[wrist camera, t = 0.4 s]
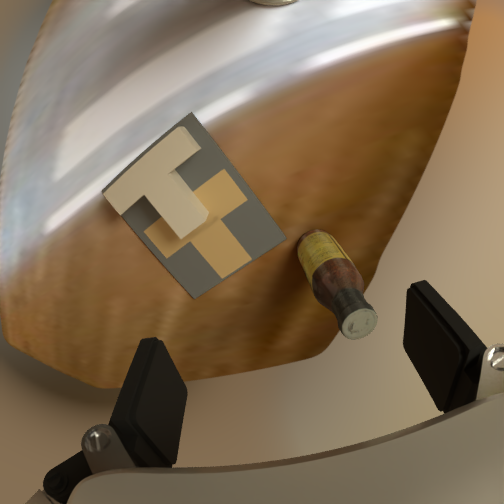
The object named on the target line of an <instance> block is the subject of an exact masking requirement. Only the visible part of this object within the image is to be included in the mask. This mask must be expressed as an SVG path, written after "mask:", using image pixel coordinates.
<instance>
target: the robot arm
mask: <svg viewBox="0 0 504 504" xmlns="http://www.w3.org/2000/svg"><path fill="white" fill-rule="evenodd" d="M249 1H251V2H254V3H257V4H262V5H272V6H277V5H285V4H289V3H293V2H295V1H297V0H249ZM403 346H404V349H405V351H406V353H407V355H408V356H409V358H410V360H411V362H412V363H413V365H414V367H415V369H416V370H417V372H418V374H419V376H420V377H421V379H422V381H423V383H424V385H425V386H426V388H427V390H428V392H429V393H430V395H431V397H432V399H433V401H434V403H435V405H436V407H437V408H438V410H439V411H443V412H444V414H443V415H440V416H438V417H435V418H433V419H430V420H427V421H425V422H422V423H420V424H417V425H414V426H412V427H409V428H406V429H403V430H400V431H397V432H394V433H391V434H388V435H385V436H382V437H379V438H376V439H372V440H369V441H365V442H361V443H358V444H354V445H350V446H346V447H343V448H338V449H334V450H330V451H325V452H321V453H316V454H311V455H306V456H300V457H295V458H289V459H282V460H276V461H268V462H261V463H252V464H242V465H230V466H216V467H188V468H172V464H175V463H176V460H177V454H178V448H179V441H180V435H181V429H182V423H183V416H184V412H185V405H186V400H187V388H186V386H185V384H184V382H183V380H182V378H181V376H180V374H179V372H178V371H177V369H176V367H175V365H174V363H173V361H172V359H171V357H170V355H169V353H168V351H167V349H166V347H165V345H164V343H163V341H162V340H158V339H157V338H156V337H152V338H145V339H142V340H141V341H140V343H139V346H138V348H137V351H136V353H135V356H134V358H133V361H132V363H131V366H130V368H129V371H128V373H127V376H126V378H125V381H124V383H123V386H122V389H121V391H120V394H119V397H118V399H117V402H116V405H115V407H114V410H113V413H112V416H111V418H110V421H109V424H108V425H106V424H99V425H95V426H93V427H91V428H90V429H89V430H87V432H86V433H85V434H84V436H83V438H82V442H81V446H82V451H80V452H78V453H77V454H75V455H74V456H72V457H71V458H69V459H67V460H66V461H64V462H63V463H61V464H59V465H58V466H56V467H54V468H53V469H51V470H50V471H49V472H48V473H47V474H46V476H45V478H44V481H43V487H44V490H43V491H41V490H40V489H39V490H38V491H37V492H36V493H35V494H34V495H33V496H32V497H31V498H30V499H29V500H28V501H27V503H25V504H504V344H495V345H492V346H490V347H488V348H487V347H486V346H485V345H484V344H483V343H482V341H481V340H480V339H479V338H478V336H477V335H476V334H475V333H474V332H473V331H472V329H471V328H470V327H469V326H468V325H467V324H466V322H465V321H464V320H463V319H462V318H461V317H460V316H459V315H458V314H457V312H456V311H455V310H454V309H453V308H452V307H451V306H450V305H449V304H448V303H447V302H446V301H445V300H444V299H443V298H442V297H441V296H440V295H439V293H438V292H437V291H436V290H435V289H434V288H433V287H432V286H431V285H430V284H429V283H428V282H427V281H426V280H423V281H419V282H416V283H412V284H411V286H410V288H409V289H407V296H406V314H405V327H404V338H403Z"/></svg>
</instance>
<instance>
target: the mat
mask: <svg viewBox="0 0 504 504" xmlns="http://www.w3.org/2000/svg"><path fill="white" fill-rule="evenodd" d="M177 127H185V128H186V129H187V131H188V132H189V133H190V134H191V136H192V137H193V138H194V140H195V141H196V142H197V143H198V145H199V146H200V147H201V149H200V150H199V151H197V152H196V153H195V154H194V155H192V156H191V157H190V158H188V159H187V160H186V161H185V162H183V163H182V164H181V165H180V166H178V167H177V168H176V169H175V170H176V171H177V173H178V174H179V175H180V176H181V178H182V179H183V180H184V182H185V183H186V184H187V185H188V187H189V188H190V189H191V190H192V192H193V193H194V194H195V195H196V197H197V198H198V199H199V200H200V202H201V203H202V204H203V205H204V207H205V208H206V209H207V210H208V212H209V214H208V216H207V219H206V221H205V222H204V223H202V224H201V225H200V226H198V227H197V228H196V229H194V230H193V231H191V232H190V233H189V234H187V235H186V236H185V237H183V238H182V239H180V238H179V236H178V235H177V234H176V233H175V232H174V230H173V229H172V228H171V227H170V226H169V224H168V223H167V222H166V221H165V220H164V218H163V217H162V216H161V215H160V214H159V212H158V211H157V210H156V209H155V207H154V206H153V205H152V204H151V203H150V201H149V200H148V199H147V198H146V196H145V195H144V196H142V197H141V198H140V199H139V200H138V201H137V202H136V203H134V204H133V205H132V206H131V207H130V208H129V209H128V210H126V211H125V212H124V213H123V214H121V216H122V217H123V218H124V219H125V221H126V222H127V223H128V224H129V226H130V227H131V228H132V229H133V230H134V231H135V233H136V234H137V235H138V236H139V237H140V239H141V240H142V241H143V242H144V243H145V244H146V246H147V247H148V248H149V249H150V250H151V251H152V253H153V254H154V255H155V256H156V257H157V258H158V259H159V261H160V262H161V263H162V264H163V265H164V266H165V267H166V268H167V270H168V271H169V272H170V273H171V274H172V275H173V276H174V277H175V278H176V280H177V281H178V282H179V283H180V284H181V285H182V286H183V287H184V288H185V289H186V291H187V292H188V293H189V294H190V295H191V296H192V297H193V298H194V299H195V298H197V297H198V296H200V295H202V294H203V293H205V292H206V291H208V290H209V289H211V288H212V287H214V286H215V285H217V284H218V283H220V282H222V281H223V280H225V279H226V278H228V277H229V276H231V275H232V274H234V273H235V272H237V271H238V270H240V269H241V268H243V267H244V266H246V265H247V264H249V263H251V262H252V261H254V260H255V259H257V258H258V257H260V256H261V255H263V254H264V253H266V252H267V251H269V250H270V249H272V248H273V247H275V246H276V245H278V244H279V243H281V242H282V241H284V240H286V239H287V238H286V237H285V235H284V234H283V233H282V231H281V230H280V228H279V227H278V226H277V224H276V223H275V221H274V220H273V219H272V217H271V216H270V215H269V213H268V212H267V211H266V209H265V208H264V206H263V205H262V204H261V202H260V201H259V200H258V198H257V197H256V196H255V194H254V193H253V192H252V190H251V189H250V188H249V186H248V185H247V183H246V182H245V181H244V179H243V178H242V177H241V175H240V174H239V173H238V172H237V170H236V169H235V168H234V166H233V165H232V164H231V162H230V161H229V160H228V158H227V157H226V156H225V154H224V153H223V152H222V150H221V149H220V148H219V147H218V145H217V144H216V143H215V141H214V140H213V139H212V137H211V136H210V135H209V134H208V132H207V131H206V130H205V128H204V127H203V126H202V125H201V123H200V122H199V121H198V120H197V118H196V117H195V116H194V114H193V113H192V112H191V113H190V114H188V115H187V116H186V117H185V118H183V119H182V120H181V121H179V122H178V123H177V124H176V125H174V126H173V127H172V128H171V129H170V130H168V131H167V132H166V133H165V134H163V135H162V136H161V137H160V138H159V139H157V140H156V141H155V142H154V143H153V144H152V145H150V146H149V147H148V148H147V149H146V150H145V151H144V152H142V153H141V154H140V155H139V156H138V157H137V158H136V159H135V160H134V161H132V162H131V163H130V164H129V165H128V166H127V167H126V168H125V169H124V170H123V171H122V172H121V173H119V174H118V175H117V176H116V177H115V178H114V179H113V180H112V181H111V182H110V183H109V184H108V185H107V186H106V187H105V188H104V189H103V190H102V192H103V193H104V192H105V191H106V190H107V189H108V188H109V187H110V186H111V185H113V184H114V183H115V182H116V181H117V180H118V179H119V178H120V177H121V176H122V175H123V174H124V173H125V172H126V171H127V170H128V169H130V168H131V167H132V166H133V165H134V164H135V163H136V162H137V161H138V160H139V159H141V158H142V157H143V156H144V155H145V154H146V153H147V152H149V151H150V150H151V149H152V148H153V147H154V146H156V145H157V144H158V143H159V142H160V141H161V140H163V139H164V138H165V137H166V136H167V135H169V134H170V133H171V132H172V131H174V130H175V129H176V128H177Z"/></svg>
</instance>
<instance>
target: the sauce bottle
mask: <svg viewBox="0 0 504 504" xmlns="http://www.w3.org/2000/svg"><path fill="white" fill-rule="evenodd" d="M297 251H298V252H297V253H298V259H299V261H300V263H301V265H302V268H303V270H304V272H305V275H306V277H307V280H308V282H309V284H310V286H311V289H312V291H313V293H314V296H315V297H316V299H317V300H318V302H319V303H320V304H322V305H323V306H325V307H326V308H327V309H329V310H330V311H332V312H333V313H334V314H335V316H336V318H337V320H338V327H339V329H340V331H341V332H342V334H343V335H344V336H345V337H347V338H348V339H353V340H355V339H359V338H363V337H365V336H366V335H368V334H370V333H371V332H372V331H373V330H374V328H375V326H376V324H377V315H376V312H375V311H374V309H373V307H372V306H371V305H370V304H368V303H367V302H366V300H365V299H364V296H363V294H362V293H363V289H364V281H363V279H362V277H361V275H360V273H359V272H358V271H357V269H356V267H355V265H354V264H353V262H352V261H351V260H350V258H349V257H348V256H347V254H346V253H345V252H344V251H343V249H342V248H341V247H340V245H339V244H338V243H337V241H336V240H335V239H334V238H333V237H332V236H331V235H330V234H328V233H327V232H326V231H324V230H311V231H309V232H307V233H305V234H304V235H303V236H302V237H301V239H300V240H299V242H298V245H297Z"/></svg>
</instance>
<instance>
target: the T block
mask: <svg viewBox="0 0 504 504" xmlns="http://www.w3.org/2000/svg"><path fill="white" fill-rule="evenodd" d="M200 149H201V147H200V146H199V145H198V143H197V142H196V141H195V140H194V138H193V137H192V136H191V134H190V133H189V132H188V131H187V129H186V128H185V127H177V128H176V129H175V130H174V131H172V132H171V133H170V134H169V135H167V136H166V137H165V138H164V139H163V140H161V141H160V142H159V143H158V144H157V145H156V146H154V147H153V148H152V149H151V150H150V151H149V152H147V153H146V154H145V155H144V156H143V157H142V158H141V159H139V160H138V161H137V162H136V163H135V164H134V165H133V166H132V167H131V168H130V169H128V170H127V171H126V172H125V173H124V174H123V175H122V176H121V177H120V178H119V179H118V180H117V181H116V182H115V183H114V184H113V185H111V186H110V187H109V188H108V189H107V190H106V191H105V192H104V193H103V195H104V196H105V197H106V199H107V200H108V201H109V202H110V204H111V205H112V206H113V207H114V208H115V210H116V211H117V212H118V213H119V215H121V214H123V213H124V212H125V211H126V210H128V209H129V208H130V207H131V206H132V205H133V204H134V203H136V202H137V201H138V200H139V199H140V198H141V197H142V196H144V195H145V196H146V198H147V199H148V200H149V201H150V203H151V204H152V205H153V206H154V207H155V209H156V210H157V211H158V212H159V214H160V215H161V216H162V217H163V218H164V220H165V221H166V222H167V223H168V224H169V226H170V227H171V228H172V229H173V230H174V232H175V233H176V234H177V235H178V236H179V238H180V239H182V238H183V237H185V236H186V235H187V234H189V233H190V232H191V231H193V230H194V229H196V228H197V227H198V226H200V225H201V224H202V223H204V222H205V221H206V219H207V216H208V214H209V212H208V210H207V209H206V208H205V207H204V205H203V204H202V203H201V202H200V200H199V199H198V198H197V197H196V195H195V194H194V193H193V192H192V190H191V189H190V188H189V187H188V185H187V184H186V183H185V182H184V180H183V179H182V178H181V176H180V175H179V174H178V173H177V171H176V170H175V169H176V168H177V167H178V166H180V165H181V164H182V163H183V162H185V161H186V160H187V159H188V158H190V157H191V156H192V155H194V154H195V153H196V152H197V151H199V150H200Z"/></svg>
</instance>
